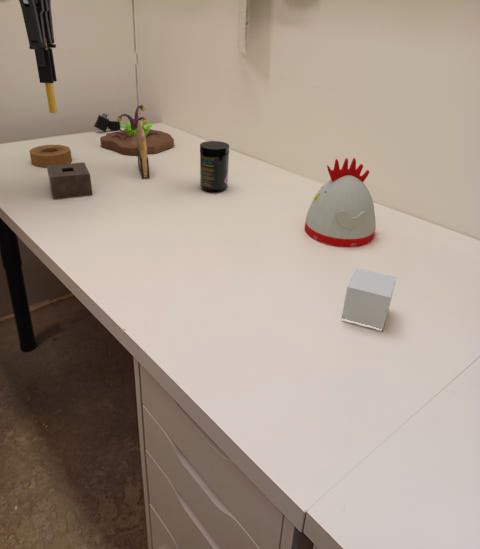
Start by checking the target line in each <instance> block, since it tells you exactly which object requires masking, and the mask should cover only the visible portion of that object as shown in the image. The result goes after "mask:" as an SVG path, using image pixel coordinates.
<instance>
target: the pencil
mask: <svg viewBox="0 0 480 549" xmlns="http://www.w3.org/2000/svg"><path fill="white" fill-rule="evenodd" d="M45 39H46V38H45ZM46 46H47V43H46ZM46 50H48V49H46ZM44 84H45V85H44V86H45V93H46V98H47V99H46V100H47V105H48V112H49V113H50V114H56V113H58V109H57V102H56V97H55V96H56V95H55V90H54V83H44Z"/></svg>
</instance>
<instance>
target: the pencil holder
mask: <svg viewBox="0 0 480 549" xmlns="http://www.w3.org/2000/svg"><path fill="white" fill-rule="evenodd" d="M46 171H47V176H48V177H47V178H48V183H49V187H50V188H49V189H50V192H51V195H52V200H58V199H60V200H61V199H69V198H77V197H85V196H92V195H93V188H92V181H91V173H90V172H89V169H88V167H87V165H86V163H85V162H73V163H68V164H59V165H48V166H47V167H46Z"/></svg>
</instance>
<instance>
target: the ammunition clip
mask: <svg viewBox="0 0 480 549" xmlns="http://www.w3.org/2000/svg"><path fill="white" fill-rule="evenodd" d="M141 122H142V121H140V120H138V125H137V145H138V147H137V153H138V156H137V165H138V169H139V174H140V177H141V179H142V180H143V179H144V180H145V179H150V166H149V165H150V164H149V157H148V154H147V146H146V139H145V133H144V130H143V128H142V125H141Z"/></svg>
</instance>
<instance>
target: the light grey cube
mask: <svg viewBox="0 0 480 549" xmlns="http://www.w3.org/2000/svg"><path fill="white" fill-rule="evenodd" d="M396 281H397V276H392V275H388V274H384V273H381V272H375V271H371V270H367V269H363V268H358V267H356V268H355V269H354V271H353V273H352V275H351V278H350V280H349V282H348V285H347V288H346V293H345V298H344V303H343V309H342V313H341V314H342V315H341V319H342V318H343V319H347V320H350V321H354V322H358V323H361V324H365V325H370V326H373V327H376V328H379V329H383V330H384V327H385V323H386V321H387V317H388V313H389V310H390V306H391V301H392V297H393V293H394V289H395V285H396Z"/></svg>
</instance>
